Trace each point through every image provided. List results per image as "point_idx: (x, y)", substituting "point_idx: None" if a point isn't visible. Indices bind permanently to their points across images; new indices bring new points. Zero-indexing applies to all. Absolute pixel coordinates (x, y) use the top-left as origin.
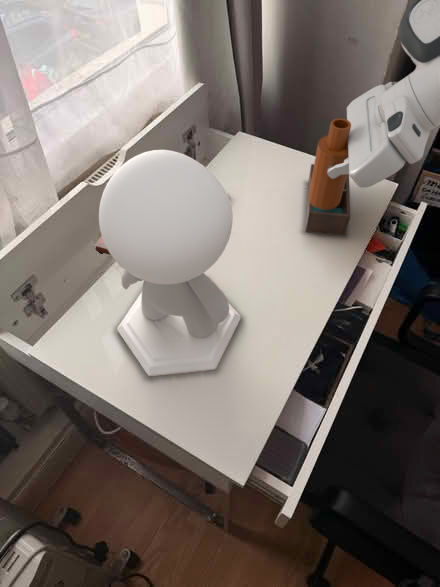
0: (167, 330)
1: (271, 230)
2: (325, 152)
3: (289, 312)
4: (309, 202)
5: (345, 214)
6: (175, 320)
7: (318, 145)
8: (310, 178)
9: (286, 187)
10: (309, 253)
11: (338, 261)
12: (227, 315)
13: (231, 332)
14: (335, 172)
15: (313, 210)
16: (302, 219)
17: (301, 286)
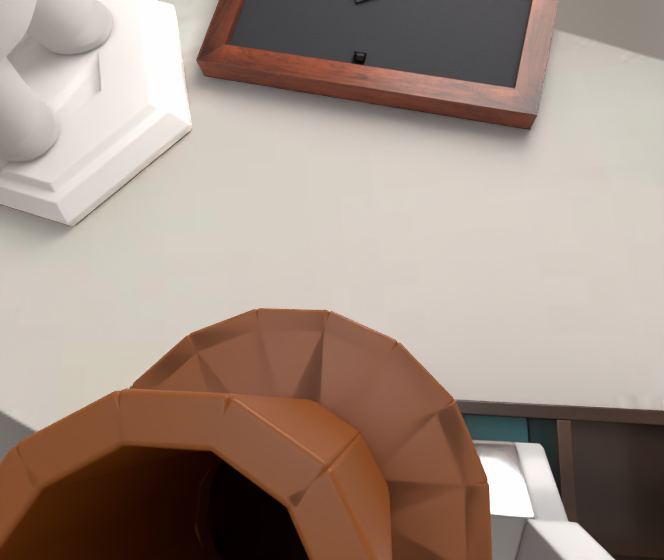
0: (22, 66)
1: (390, 285)
2: (147, 379)
3: (85, 348)
4: (468, 400)
5: None
6: (36, 73)
7: (265, 310)
8: (633, 409)
9: (624, 328)
10: None
11: None
12: (43, 183)
13: (21, 205)
14: None
15: (500, 428)
16: (457, 388)
17: None
